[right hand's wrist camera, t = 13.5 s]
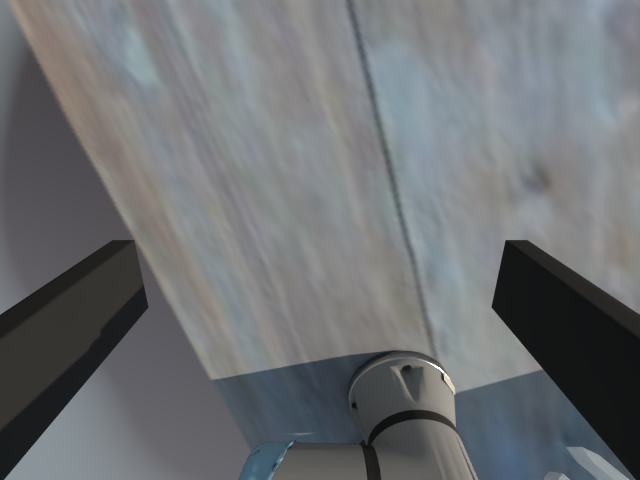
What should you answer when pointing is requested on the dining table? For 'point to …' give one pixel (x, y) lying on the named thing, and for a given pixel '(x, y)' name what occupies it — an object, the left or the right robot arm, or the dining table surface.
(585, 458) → the white plastic object
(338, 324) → the dining table surface
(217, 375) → the dining table surface
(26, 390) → the right robot arm
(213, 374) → the dining table surface
